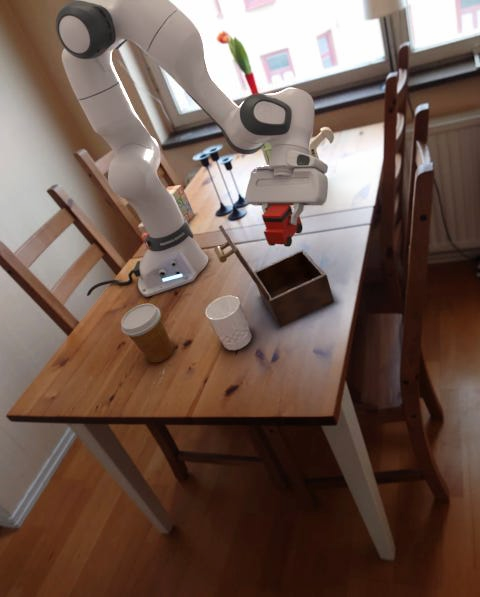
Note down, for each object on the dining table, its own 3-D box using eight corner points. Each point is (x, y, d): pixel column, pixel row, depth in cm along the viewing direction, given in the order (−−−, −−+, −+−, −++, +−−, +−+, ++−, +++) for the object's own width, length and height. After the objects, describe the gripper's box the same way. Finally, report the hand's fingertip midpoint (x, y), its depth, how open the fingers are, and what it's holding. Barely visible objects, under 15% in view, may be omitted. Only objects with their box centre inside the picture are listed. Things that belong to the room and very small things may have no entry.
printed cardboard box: (163, 249, 156) (146, 217, 150) (149, 249, 160) (132, 218, 153) (195, 214, 170) (181, 184, 163) (181, 215, 173) (167, 185, 166)
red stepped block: (287, 249, 107) (277, 219, 102) (269, 248, 110) (258, 218, 105) (304, 229, 111) (294, 199, 107) (285, 228, 114) (275, 199, 110)
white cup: (235, 325, 112) (220, 292, 106) (260, 332, 107) (246, 298, 101) (214, 347, 108) (198, 315, 102) (240, 356, 103) (224, 322, 97)
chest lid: (221, 224, 104) (205, 235, 104) (237, 250, 93) (218, 262, 93) (252, 270, 112) (237, 280, 112) (270, 298, 101) (253, 310, 101)
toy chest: (311, 274, 117) (303, 248, 113) (334, 302, 106) (326, 274, 102) (261, 297, 117) (251, 272, 112) (279, 327, 106) (269, 301, 101)
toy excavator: (345, 182, 150) (333, 130, 140) (294, 198, 153) (279, 148, 144) (340, 172, 157) (329, 122, 147) (292, 187, 160) (278, 139, 151)
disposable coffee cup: (138, 352, 116) (115, 316, 109) (172, 333, 118) (152, 296, 111) (147, 374, 108) (123, 336, 102) (184, 353, 110) (162, 315, 103)
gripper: (244, 162, 111) (236, 220, 112) (320, 156, 99) (311, 222, 99) (259, 170, 116) (252, 225, 117) (334, 165, 104) (325, 228, 104)
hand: (280, 224), depth 108 cm, fingers closed on red stepped block, 5 cm apart
